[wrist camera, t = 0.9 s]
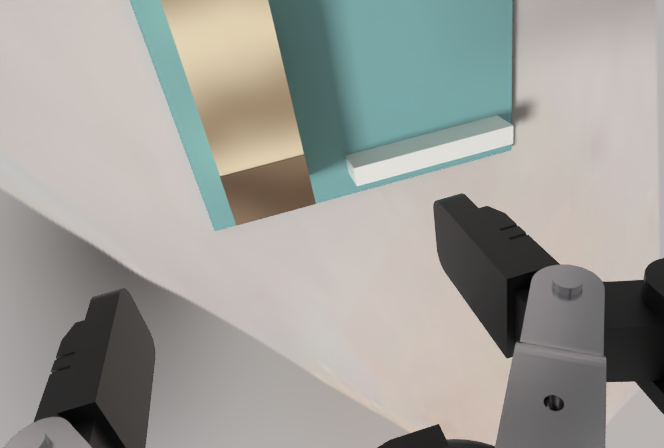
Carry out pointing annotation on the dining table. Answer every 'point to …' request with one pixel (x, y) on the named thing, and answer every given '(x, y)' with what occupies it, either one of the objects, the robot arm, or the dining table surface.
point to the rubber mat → (358, 81)
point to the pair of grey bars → (429, 150)
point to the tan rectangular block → (243, 103)
